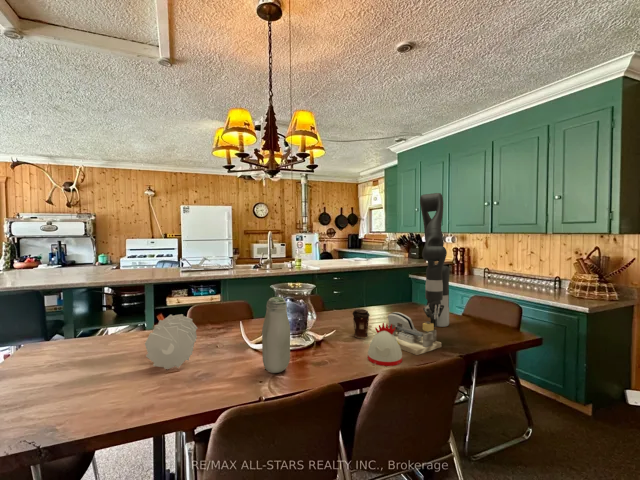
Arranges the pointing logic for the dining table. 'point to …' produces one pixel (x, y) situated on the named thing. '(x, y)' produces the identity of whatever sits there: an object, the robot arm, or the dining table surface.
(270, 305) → the glass bottle
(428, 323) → the block
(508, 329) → the dining table surface
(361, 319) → the coffee cup
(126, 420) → the dining table surface
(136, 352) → the dining table surface
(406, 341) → the cream board with rail
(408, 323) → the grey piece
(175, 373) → the dining table surface
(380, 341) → the kitchen timer
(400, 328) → the strap
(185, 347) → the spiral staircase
